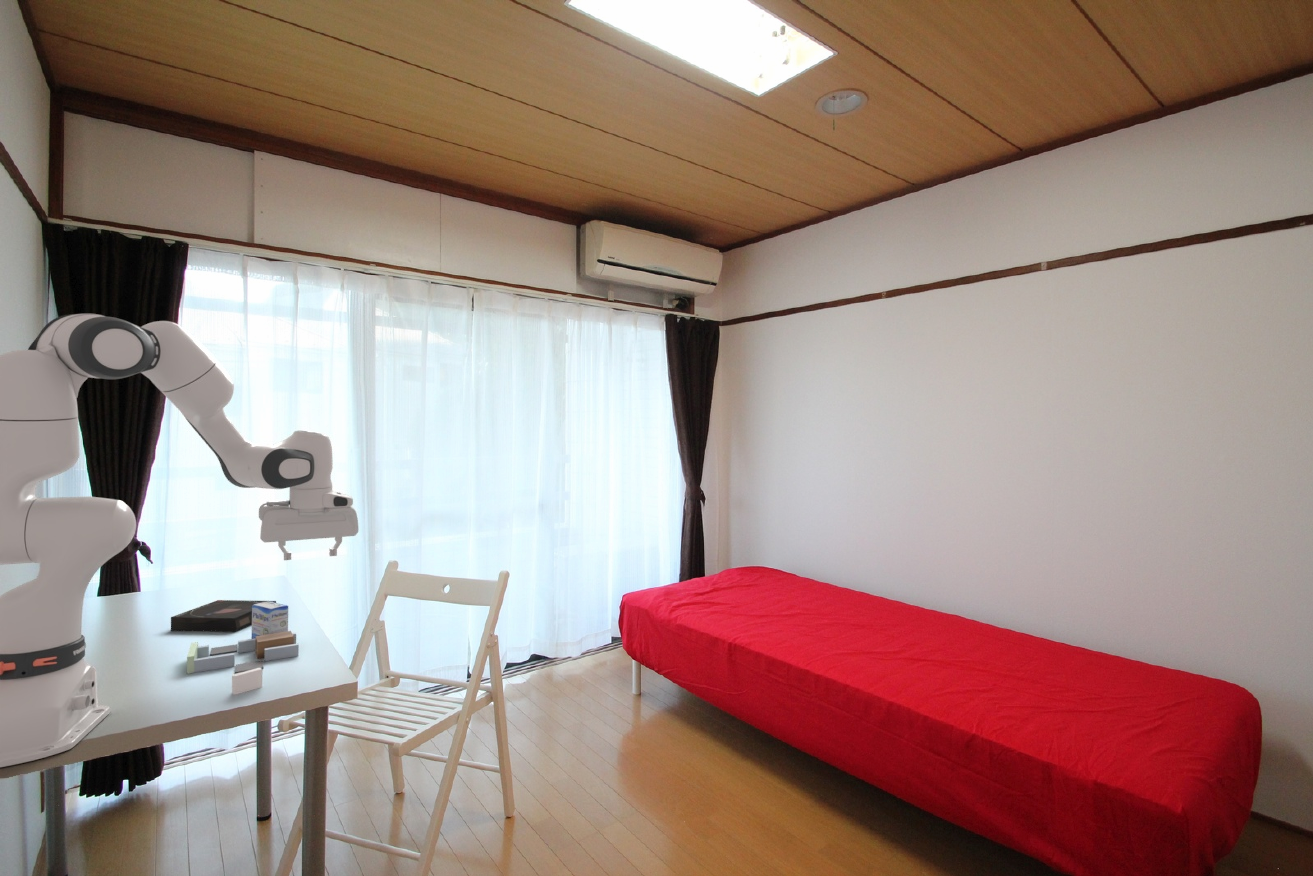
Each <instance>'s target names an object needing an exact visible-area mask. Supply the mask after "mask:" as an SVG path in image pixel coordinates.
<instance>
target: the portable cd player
mask: <svg viewBox="0 0 1313 876" xmlns="http://www.w3.org/2000/svg"><path fill="white" fill-rule="evenodd" d="M262 602H274V603H277V600H244V599H243V600H237V599H235V600H233V599H230V600H229V599H228V600H227V599H218V600H214V601H212V602H208V603H205V604H203V605H201V606H198V607H195V608H193V609H189V610H187V611H184V612H182V613H178V614H176V615H174V616H171V617H170V632H196V633H197V632H199V633H200V632H203V633H204V632H205V633H207V632H208V633H209V632H211V633H213V632H214V633H218V632H219V633H237V632H239V631H241V630H243V629H245V628H247V627H250V626H252V605H254V604H258V603H262Z"/></svg>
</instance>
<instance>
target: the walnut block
mask: <svg viewBox="0 0 1313 876" xmlns="http://www.w3.org/2000/svg"><path fill="white" fill-rule="evenodd" d="M292 633H293V632H292V631H291V630H288V631H286V632H280V633H274V634H268V635H261V636H255V651H254V652H255V655H256V660H261V659H264V652H265V648H271V647H278V646H284V645H291V644H294V636H293V634H292Z"/></svg>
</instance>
